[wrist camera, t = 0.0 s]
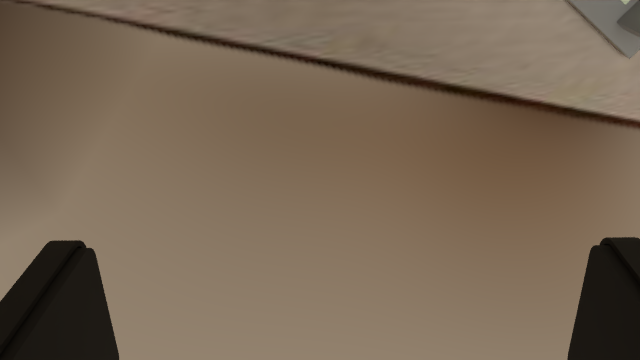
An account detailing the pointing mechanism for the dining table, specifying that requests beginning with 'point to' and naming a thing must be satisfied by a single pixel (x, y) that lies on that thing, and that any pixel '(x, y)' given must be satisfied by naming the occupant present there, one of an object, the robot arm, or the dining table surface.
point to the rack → (614, 21)
